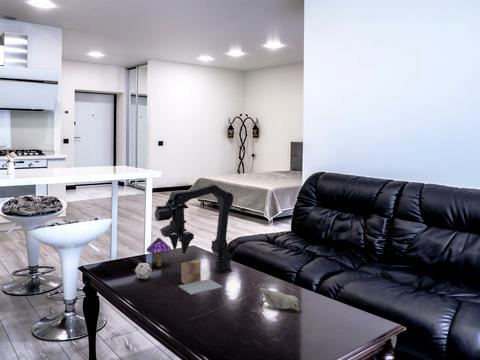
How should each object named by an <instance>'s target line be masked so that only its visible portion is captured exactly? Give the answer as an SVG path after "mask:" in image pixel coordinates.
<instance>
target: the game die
mask: <svg viewBox="0 0 480 360" xmlns="http://www.w3.org/2000/svg"><path fill="white" fill-rule="evenodd" d="M150 263H151V262H150V261H148V262H141V261H138V265H137V266H136V267H135V269H133V270H132V271H133V272H135V274H136V277H137V278H136V280H137V281H138V280H139V279H141V280H142V279H144V280H147V281H149V277H150V276H151V274H152V273H154V272H155V271H154V270H153V269H152V267H151V264H150Z"/></svg>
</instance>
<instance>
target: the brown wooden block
mask: <svg viewBox="0 0 480 360" xmlns="http://www.w3.org/2000/svg"><path fill="white" fill-rule="evenodd" d="M180 263H181V264H180V265H181V269H180V270H181V273H180V274H181V283H183V285H184V284H188V283H193V282H198V281H202V279H201V278H202V277H201V276H202V275H201V268H202V267H201V265H202V264H201V261H200V260H197V259H195V260H190V261H183V262H180Z"/></svg>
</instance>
